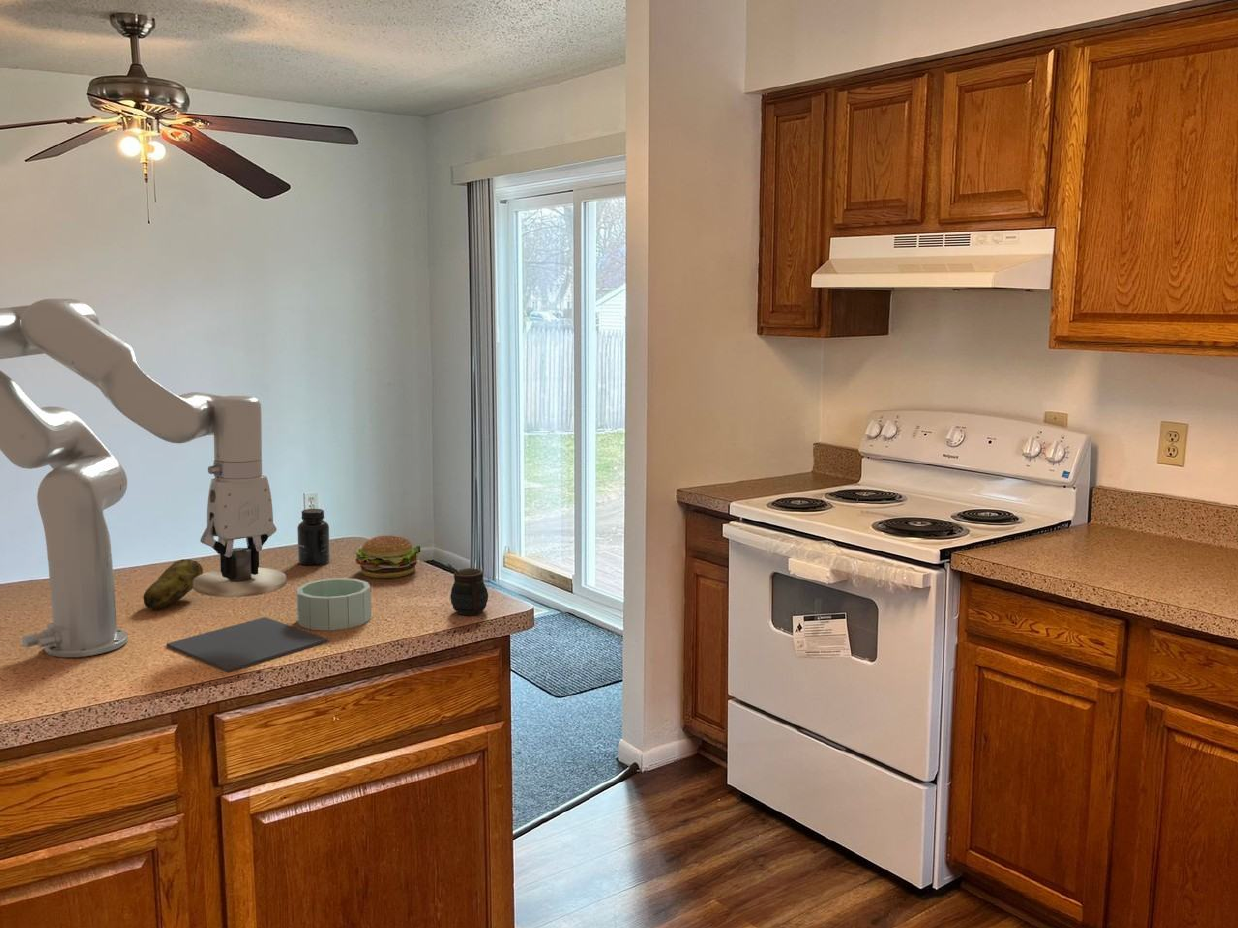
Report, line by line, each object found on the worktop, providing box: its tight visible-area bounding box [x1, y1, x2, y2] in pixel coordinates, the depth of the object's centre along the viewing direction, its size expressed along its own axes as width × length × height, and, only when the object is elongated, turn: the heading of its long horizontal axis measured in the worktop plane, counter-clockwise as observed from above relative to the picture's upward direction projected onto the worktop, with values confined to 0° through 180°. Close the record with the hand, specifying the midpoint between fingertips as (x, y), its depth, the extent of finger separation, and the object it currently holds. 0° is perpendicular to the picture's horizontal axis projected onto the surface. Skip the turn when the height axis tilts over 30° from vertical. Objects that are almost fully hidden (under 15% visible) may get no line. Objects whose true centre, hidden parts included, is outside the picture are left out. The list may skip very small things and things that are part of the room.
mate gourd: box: [446, 563, 489, 616], centre depth 194 cm, size 7×8×10 cm
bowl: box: [295, 577, 372, 631], centre depth 189 cm, size 13×13×6 cm
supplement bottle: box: [296, 508, 331, 567], centre depth 228 cm, size 7×7×12 cm
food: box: [353, 534, 421, 579], centre depth 221 cm, size 14×14×8 cm
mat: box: [166, 616, 329, 673], centre depth 176 cm, size 19×19×1 cm
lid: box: [192, 547, 287, 598], centre depth 173 cm, size 15×15×6 cm
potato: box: [142, 558, 204, 611], centre depth 197 cm, size 8×13×8 cm, turn 141°
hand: (240, 574), depth 173 cm, fingers closed on lid, 3 cm apart
